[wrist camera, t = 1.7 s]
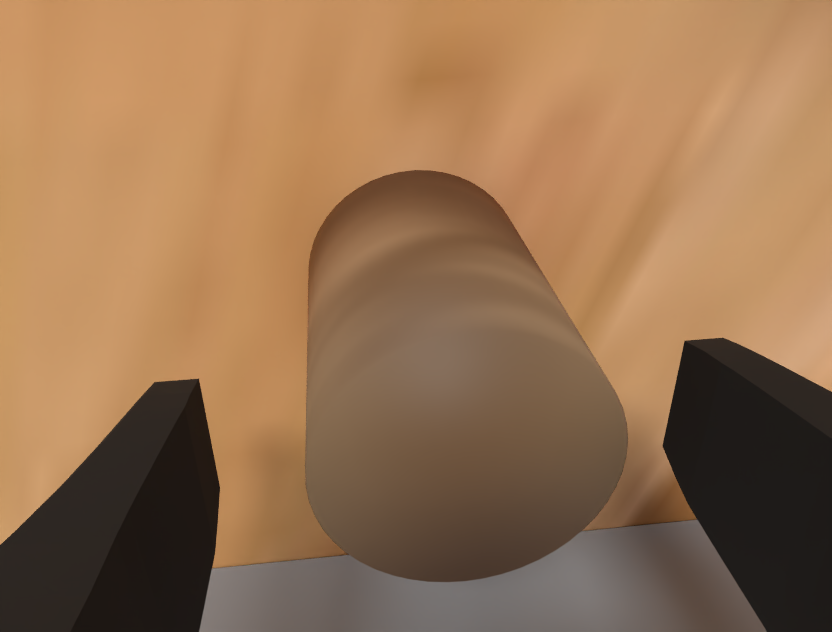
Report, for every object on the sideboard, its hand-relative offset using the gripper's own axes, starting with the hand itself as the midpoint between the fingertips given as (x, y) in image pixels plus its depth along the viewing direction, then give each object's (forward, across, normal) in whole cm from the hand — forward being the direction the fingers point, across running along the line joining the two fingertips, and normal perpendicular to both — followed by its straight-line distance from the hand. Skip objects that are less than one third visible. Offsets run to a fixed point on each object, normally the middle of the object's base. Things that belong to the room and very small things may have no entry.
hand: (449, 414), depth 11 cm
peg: (+5, 0, 0) cm, 5 cm away
